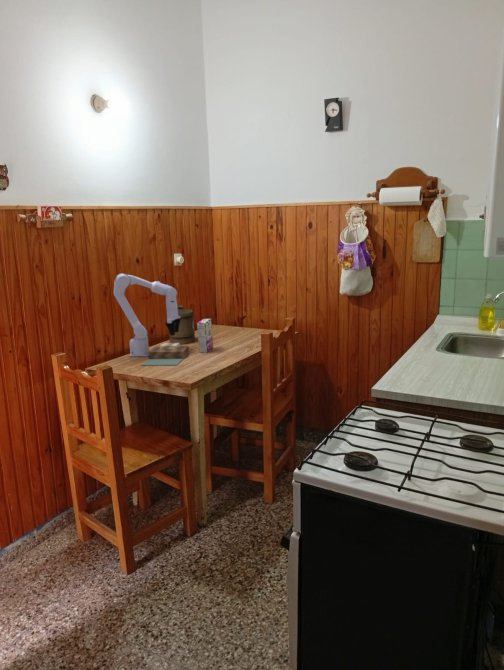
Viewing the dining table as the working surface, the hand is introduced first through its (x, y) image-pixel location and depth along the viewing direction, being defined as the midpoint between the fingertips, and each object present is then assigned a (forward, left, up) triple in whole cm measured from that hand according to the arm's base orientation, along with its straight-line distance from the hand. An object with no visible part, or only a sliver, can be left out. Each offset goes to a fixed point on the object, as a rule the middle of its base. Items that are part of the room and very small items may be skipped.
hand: (174, 333), depth 260 cm
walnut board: (0, -12, -10) cm, 15 cm away
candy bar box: (+17, 0, -10) cm, 19 cm away
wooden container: (-2, +22, -10) cm, 24 cm away
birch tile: (0, -10, -6) cm, 11 cm away
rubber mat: (0, -24, -10) cm, 26 cm away
